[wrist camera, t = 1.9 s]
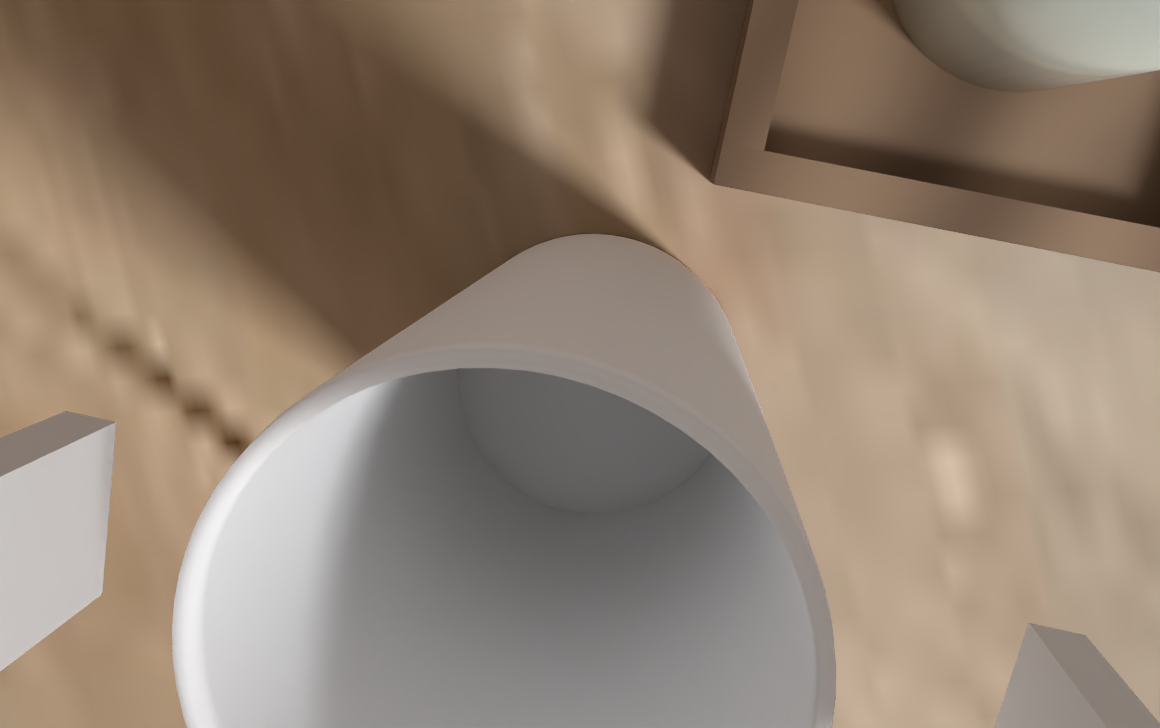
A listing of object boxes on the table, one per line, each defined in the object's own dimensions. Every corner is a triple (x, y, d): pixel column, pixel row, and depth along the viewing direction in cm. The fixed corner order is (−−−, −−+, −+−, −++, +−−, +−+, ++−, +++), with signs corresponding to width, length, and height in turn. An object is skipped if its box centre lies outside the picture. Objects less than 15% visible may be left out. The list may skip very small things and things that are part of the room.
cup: (452, 511, 28) (193, 941, 13) (447, 231, 27) (140, 337, 11) (733, 523, 28) (818, 993, 12) (747, 236, 26) (865, 358, 10)
